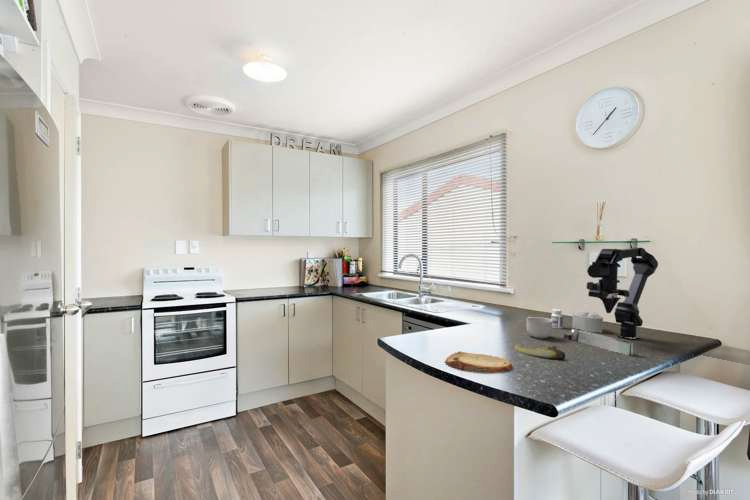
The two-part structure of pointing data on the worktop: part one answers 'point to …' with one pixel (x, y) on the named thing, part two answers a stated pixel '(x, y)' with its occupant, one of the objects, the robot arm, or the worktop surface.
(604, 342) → the tongs fixed arm
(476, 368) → the bread slice
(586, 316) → the lumpy-topped squat cylinder
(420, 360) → the worktop surface
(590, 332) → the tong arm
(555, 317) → the pill bottle
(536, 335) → the teacup
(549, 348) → the olive green elongated piece
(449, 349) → the worktop surface
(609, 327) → the worktop surface
